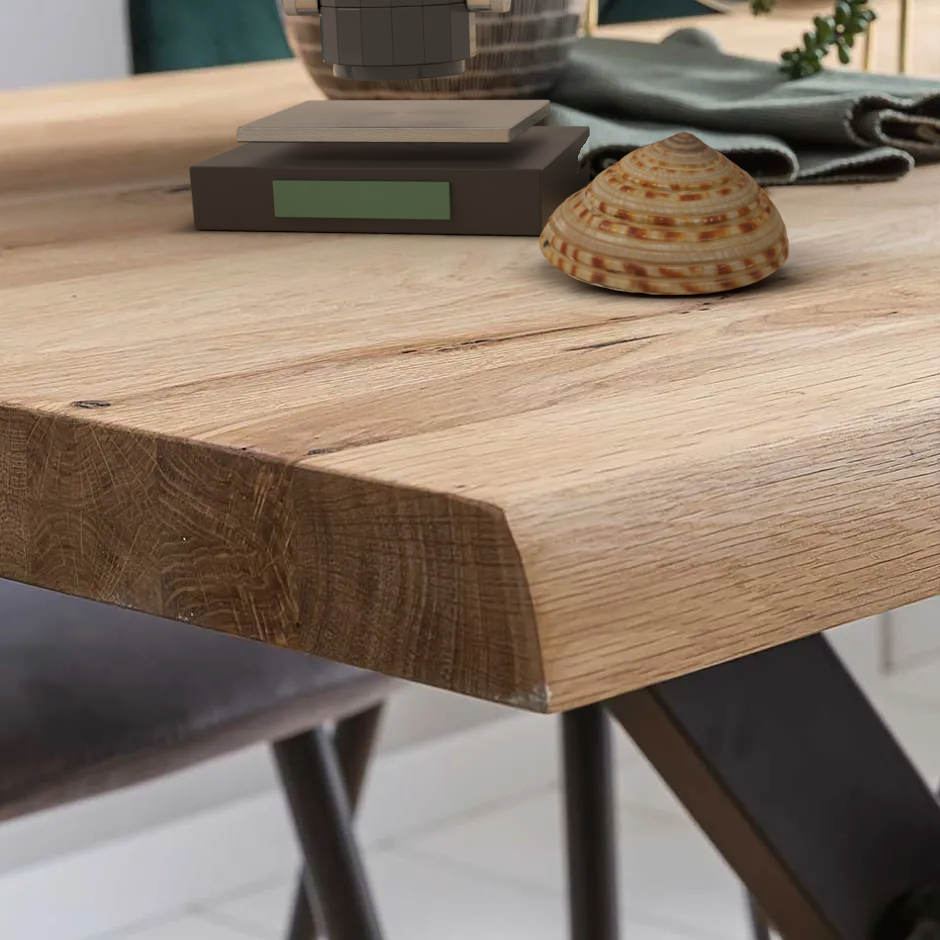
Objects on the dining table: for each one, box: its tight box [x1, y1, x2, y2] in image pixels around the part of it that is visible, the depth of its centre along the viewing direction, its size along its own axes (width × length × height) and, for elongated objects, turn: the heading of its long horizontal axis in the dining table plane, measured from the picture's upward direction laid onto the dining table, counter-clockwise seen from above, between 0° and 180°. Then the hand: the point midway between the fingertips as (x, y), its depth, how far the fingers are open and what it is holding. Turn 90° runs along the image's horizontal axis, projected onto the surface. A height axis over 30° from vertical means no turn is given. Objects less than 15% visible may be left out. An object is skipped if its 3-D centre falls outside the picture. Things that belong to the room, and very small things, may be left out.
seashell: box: [538, 131, 790, 296], centre depth 53 cm, size 8×6×8 cm
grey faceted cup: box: [319, 0, 477, 82], centre depth 64 cm, size 6×6×5 cm
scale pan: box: [236, 99, 551, 144], centre depth 65 cm, size 11×9×1 cm
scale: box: [188, 125, 591, 236], centre depth 66 cm, size 14×12×2 cm
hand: (396, 13), depth 64 cm, fingers closed on grey faceted cup, 6 cm apart
